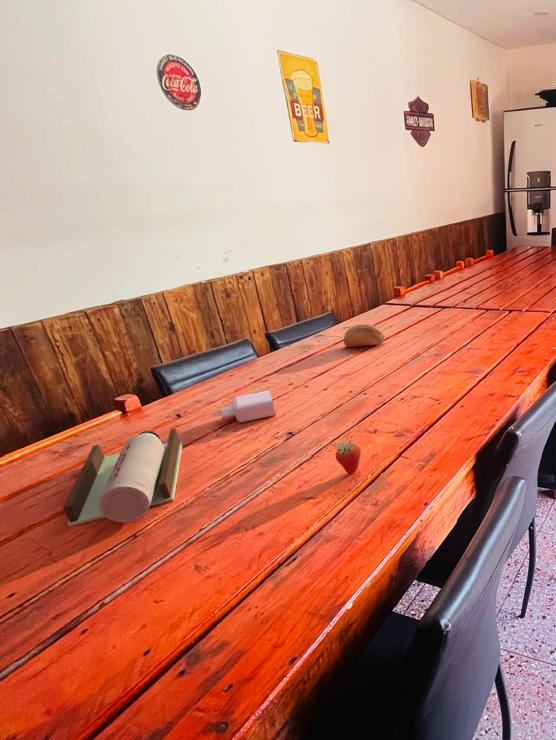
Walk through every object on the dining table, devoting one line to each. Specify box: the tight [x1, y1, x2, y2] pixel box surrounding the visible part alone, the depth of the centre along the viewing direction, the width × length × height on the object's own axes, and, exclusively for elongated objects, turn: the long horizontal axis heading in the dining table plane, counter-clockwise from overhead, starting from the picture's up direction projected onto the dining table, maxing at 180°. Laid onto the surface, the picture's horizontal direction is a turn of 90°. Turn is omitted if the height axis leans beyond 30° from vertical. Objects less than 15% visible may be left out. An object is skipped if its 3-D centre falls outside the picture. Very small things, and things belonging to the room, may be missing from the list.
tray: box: [62, 428, 183, 527], centre depth 111 cm, size 18×28×4 cm, turn 24°
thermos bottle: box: [99, 430, 165, 523], centre depth 107 cm, size 8×8×28 cm
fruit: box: [334, 439, 362, 475], centre depth 109 cm, size 5×5×8 cm
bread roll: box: [343, 323, 385, 348], centre depth 189 cm, size 10×15×8 cm, turn 98°
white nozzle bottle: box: [212, 389, 277, 423], centre depth 138 cm, size 5×9×15 cm
